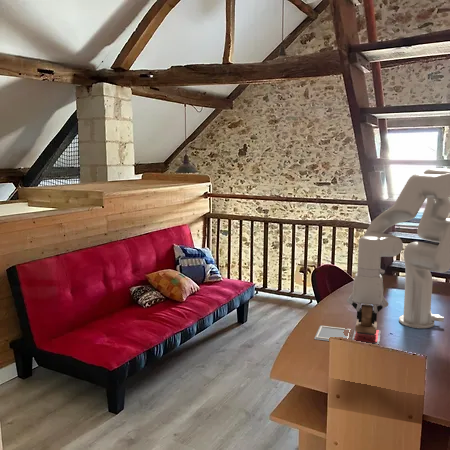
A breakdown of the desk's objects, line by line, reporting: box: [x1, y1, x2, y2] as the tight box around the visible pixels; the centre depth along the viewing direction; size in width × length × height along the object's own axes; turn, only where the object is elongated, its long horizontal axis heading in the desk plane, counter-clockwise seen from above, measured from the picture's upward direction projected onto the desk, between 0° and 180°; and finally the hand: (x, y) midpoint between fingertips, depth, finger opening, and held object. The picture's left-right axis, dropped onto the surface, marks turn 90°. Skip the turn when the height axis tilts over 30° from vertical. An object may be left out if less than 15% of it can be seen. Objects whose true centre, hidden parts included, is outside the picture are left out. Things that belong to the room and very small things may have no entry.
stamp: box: [354, 303, 378, 336], centre depth 163 cm, size 7×7×9 cm
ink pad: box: [351, 329, 381, 346], centre depth 164 cm, size 9×12×2 cm
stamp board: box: [314, 325, 352, 342], centre depth 168 cm, size 12×13×1 cm
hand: (366, 321), depth 163 cm, fingers closed on stamp, 4 cm apart
